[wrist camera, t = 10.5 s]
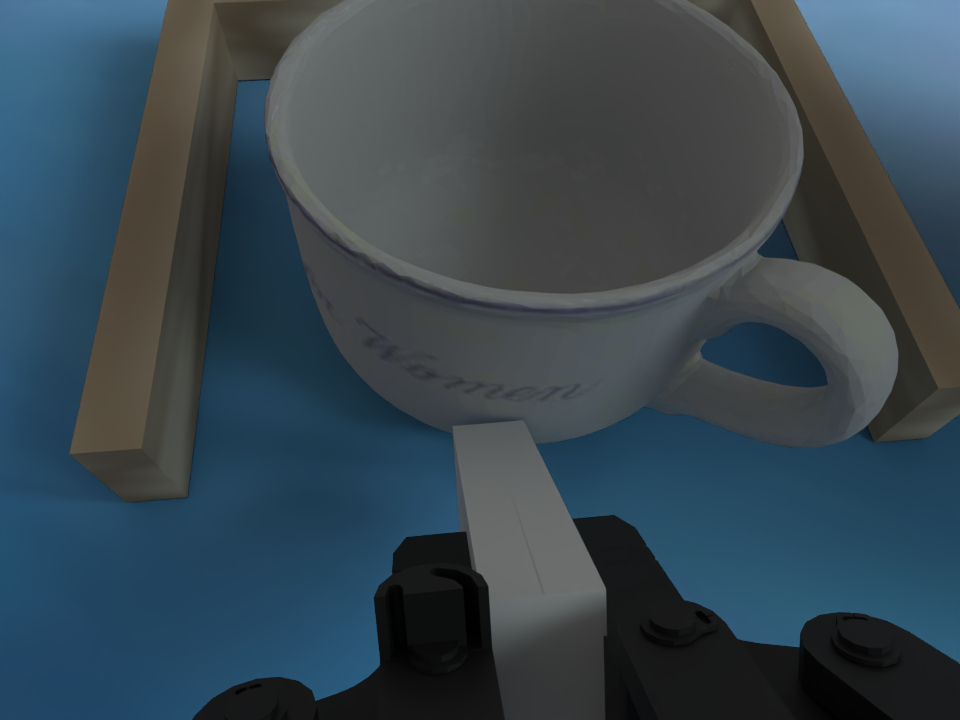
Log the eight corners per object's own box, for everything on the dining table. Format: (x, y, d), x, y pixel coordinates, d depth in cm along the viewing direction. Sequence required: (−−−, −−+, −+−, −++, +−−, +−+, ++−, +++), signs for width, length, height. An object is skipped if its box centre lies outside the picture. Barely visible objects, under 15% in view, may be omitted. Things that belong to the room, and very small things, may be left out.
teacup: (263, 274, 22) (171, 33, 15) (548, 138, 25) (582, -110, 18) (541, 691, 16) (604, 617, 9) (863, 441, 19) (1089, 247, 12)
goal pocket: (743, 34, 28) (772, -41, 26) (927, 438, 19) (999, 383, 17) (200, 55, 27) (172, -23, 24) (125, 501, 18) (69, 454, 15)
